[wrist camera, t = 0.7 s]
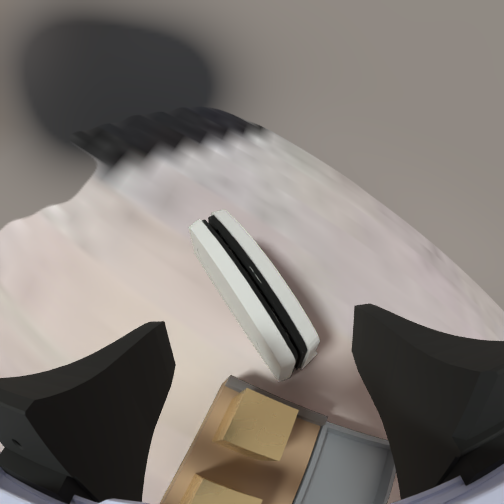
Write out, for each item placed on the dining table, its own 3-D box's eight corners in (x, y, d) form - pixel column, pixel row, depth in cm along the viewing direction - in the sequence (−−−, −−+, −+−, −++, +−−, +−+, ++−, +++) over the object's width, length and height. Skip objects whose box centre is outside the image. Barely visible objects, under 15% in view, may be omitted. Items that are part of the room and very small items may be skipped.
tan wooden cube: (259, 460, 18) (279, 461, 15) (211, 441, 18) (222, 439, 15) (277, 417, 21) (298, 410, 18) (232, 398, 21) (246, 387, 18)
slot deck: (255, 550, 14) (269, 560, 11) (152, 515, 14) (152, 525, 12) (309, 422, 23) (327, 416, 21) (221, 384, 24) (231, 374, 21)
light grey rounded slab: (316, 359, 28) (347, 337, 19) (278, 385, 27) (293, 377, 18) (230, 239, 35) (226, 182, 26) (195, 258, 33) (179, 204, 25)
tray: (351, 560, 13) (363, 563, 12) (260, 551, 14) (268, 557, 12) (389, 446, 23) (402, 444, 22) (314, 423, 23) (324, 420, 22)
